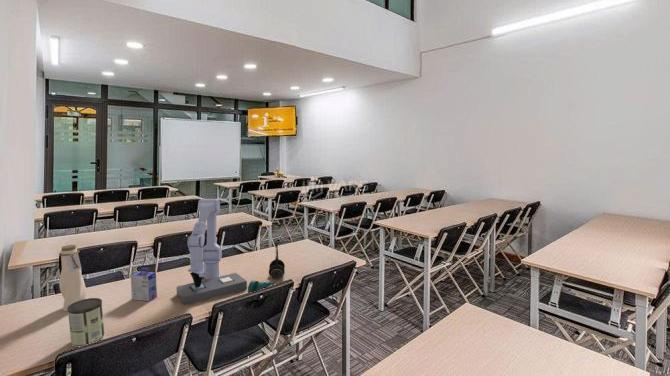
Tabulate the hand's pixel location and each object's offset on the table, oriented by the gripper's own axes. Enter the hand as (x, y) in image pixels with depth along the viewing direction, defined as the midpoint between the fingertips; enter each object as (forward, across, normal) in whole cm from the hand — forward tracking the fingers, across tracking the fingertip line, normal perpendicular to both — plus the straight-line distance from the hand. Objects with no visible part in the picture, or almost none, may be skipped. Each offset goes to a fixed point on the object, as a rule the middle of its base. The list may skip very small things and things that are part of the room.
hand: (197, 286), depth 164 cm
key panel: (+4, 0, +7) cm, 8 cm away
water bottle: (+5, -20, -47) cm, 51 cm away
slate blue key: (+3, 0, 0) cm, 3 cm away
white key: (+3, 0, +14) cm, 14 cm away
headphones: (+4, +2, +42) cm, 42 cm away
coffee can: (+5, +14, -44) cm, 46 cm away
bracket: (+5, +16, +27) cm, 32 cm away
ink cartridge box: (+5, -12, -21) cm, 25 cm away
